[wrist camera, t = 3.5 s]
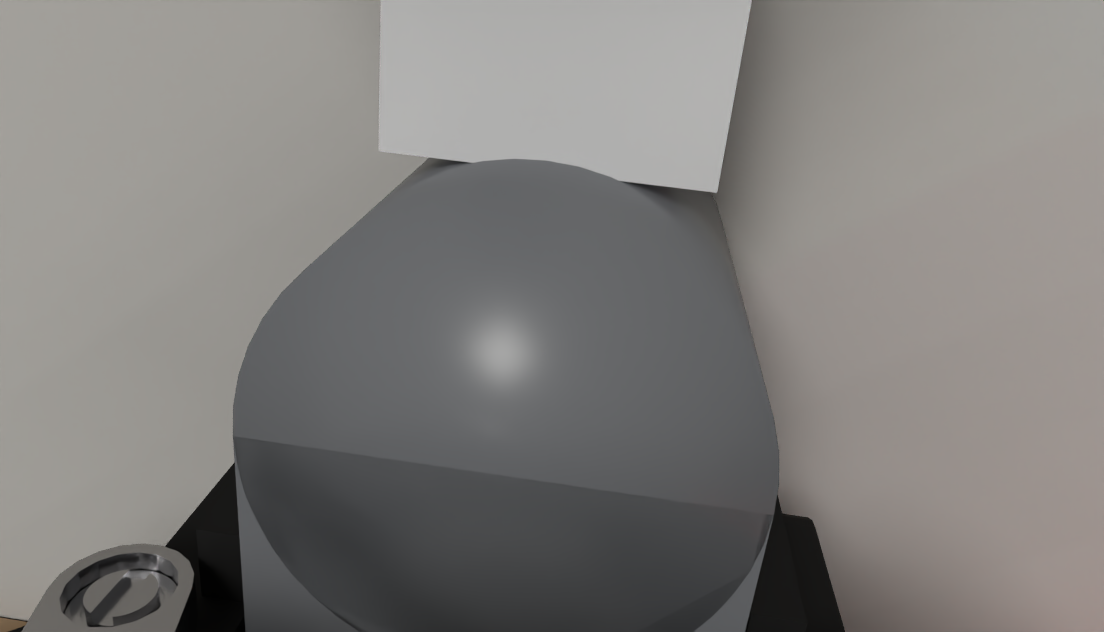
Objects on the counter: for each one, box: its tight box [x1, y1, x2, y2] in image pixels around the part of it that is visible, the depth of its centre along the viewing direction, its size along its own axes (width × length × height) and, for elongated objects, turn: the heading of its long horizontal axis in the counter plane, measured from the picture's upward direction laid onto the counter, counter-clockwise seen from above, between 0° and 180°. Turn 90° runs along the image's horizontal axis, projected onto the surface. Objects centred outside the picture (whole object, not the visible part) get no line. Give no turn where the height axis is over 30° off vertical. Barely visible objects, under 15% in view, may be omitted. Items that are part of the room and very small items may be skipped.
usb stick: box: [233, 0, 779, 632], centre depth 10 cm, size 13×4×5 cm, turn 175°
